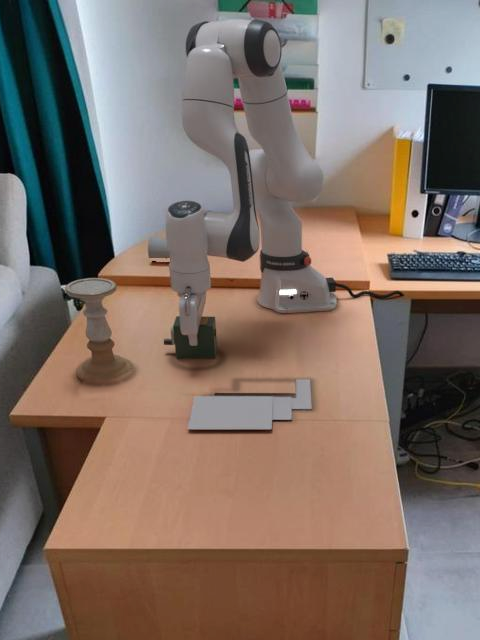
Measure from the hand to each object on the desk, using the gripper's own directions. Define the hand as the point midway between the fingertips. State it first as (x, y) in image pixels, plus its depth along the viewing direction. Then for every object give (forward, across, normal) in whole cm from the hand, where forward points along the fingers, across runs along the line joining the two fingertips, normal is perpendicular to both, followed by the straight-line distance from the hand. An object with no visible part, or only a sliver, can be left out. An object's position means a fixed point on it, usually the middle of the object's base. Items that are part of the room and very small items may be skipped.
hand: (195, 337), depth 168 cm
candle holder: (+5, -8, +20) cm, 22 cm away
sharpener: (+4, 0, +1) cm, 4 cm away
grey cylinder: (+5, +72, +18) cm, 75 cm away
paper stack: (+5, -23, -14) cm, 27 cm away
